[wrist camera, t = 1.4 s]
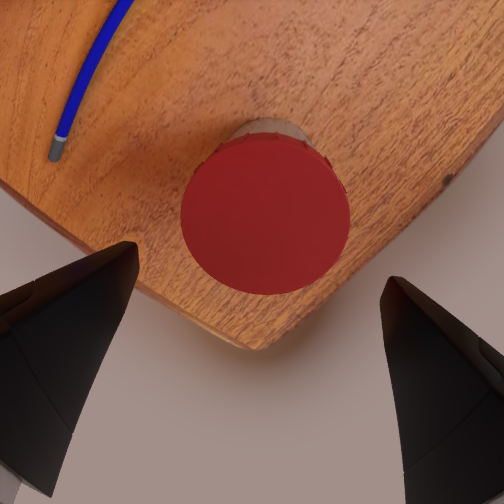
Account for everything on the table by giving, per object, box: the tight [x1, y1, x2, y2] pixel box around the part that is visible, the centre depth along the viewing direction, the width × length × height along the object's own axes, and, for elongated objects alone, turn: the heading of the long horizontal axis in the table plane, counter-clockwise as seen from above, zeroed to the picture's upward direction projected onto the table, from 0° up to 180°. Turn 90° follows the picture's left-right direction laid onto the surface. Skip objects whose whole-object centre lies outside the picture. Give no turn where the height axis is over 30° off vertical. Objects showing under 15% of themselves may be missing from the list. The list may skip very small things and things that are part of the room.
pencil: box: [48, 0, 134, 162], centre depth 16 cm, size 17×1×1 cm, turn 147°
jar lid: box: [181, 131, 350, 295], centre depth 13 cm, size 6×6×2 cm
